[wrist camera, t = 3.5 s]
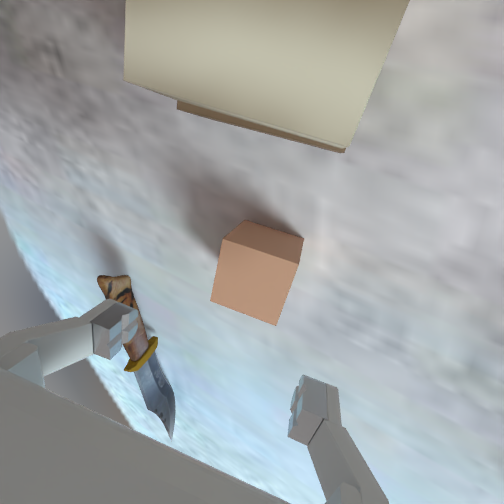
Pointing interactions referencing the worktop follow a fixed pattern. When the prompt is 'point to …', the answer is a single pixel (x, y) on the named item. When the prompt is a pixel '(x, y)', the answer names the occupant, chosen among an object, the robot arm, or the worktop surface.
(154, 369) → the knife
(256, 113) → the birch slab
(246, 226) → the terracotta block
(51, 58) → the worktop surface
